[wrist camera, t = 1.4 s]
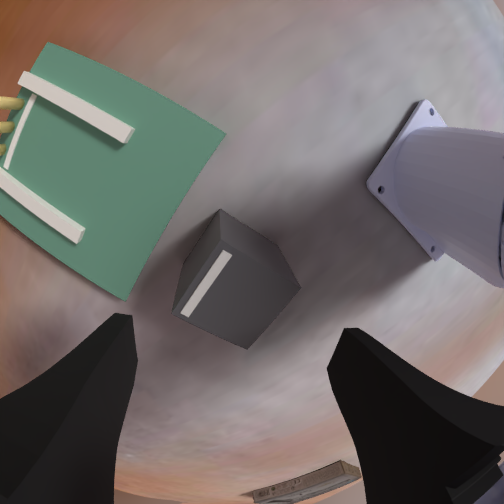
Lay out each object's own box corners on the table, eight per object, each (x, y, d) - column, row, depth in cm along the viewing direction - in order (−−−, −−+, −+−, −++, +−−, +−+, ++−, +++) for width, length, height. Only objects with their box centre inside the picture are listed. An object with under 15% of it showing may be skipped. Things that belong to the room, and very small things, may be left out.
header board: (225, 134, 13) (228, 130, 9) (130, 291, 16) (110, 332, 12) (57, 46, 9) (20, 29, 5) (-7, 195, 12) (-44, 212, 8)
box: (358, 465, 35) (363, 477, 33) (280, 495, 38) (283, 507, 35) (340, 457, 31) (346, 472, 28) (250, 490, 33) (252, 503, 31)
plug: (277, 245, 16) (301, 288, 11) (238, 295, 17) (247, 350, 12) (219, 208, 15) (220, 240, 10) (183, 264, 16) (170, 314, 11)
